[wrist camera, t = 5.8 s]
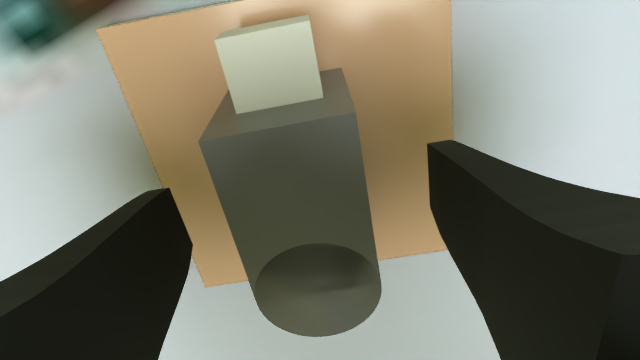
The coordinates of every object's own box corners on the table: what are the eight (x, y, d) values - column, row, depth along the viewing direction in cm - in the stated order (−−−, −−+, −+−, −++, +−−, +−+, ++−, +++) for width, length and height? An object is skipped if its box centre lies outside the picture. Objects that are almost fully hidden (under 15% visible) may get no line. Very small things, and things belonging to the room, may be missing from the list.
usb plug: (368, 242, 15) (387, 326, 12) (279, 257, 16) (271, 344, 12) (331, 3, 11) (342, 24, 8) (210, 28, 11) (168, 58, 8)
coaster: (447, 236, 16) (454, 248, 16) (209, 273, 17) (205, 287, 16) (441, -40, 11) (450, -40, 11) (108, 25, 12) (95, 29, 11)
